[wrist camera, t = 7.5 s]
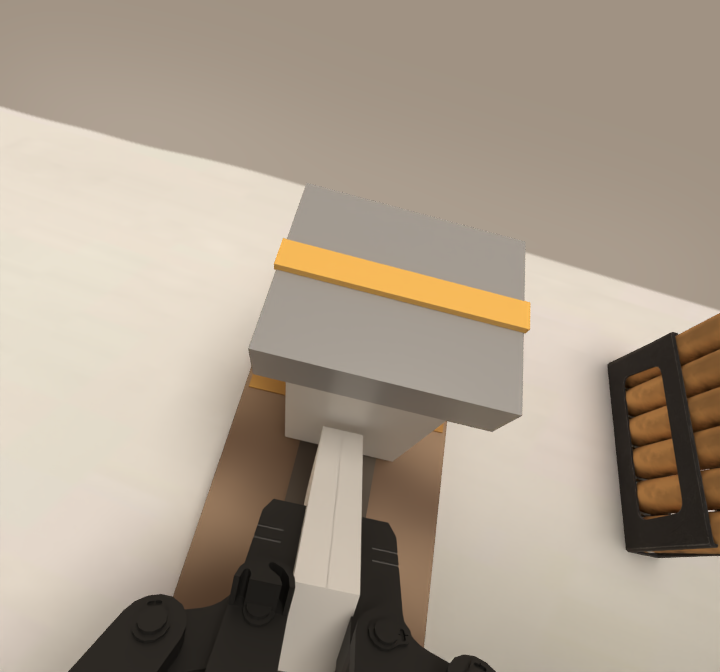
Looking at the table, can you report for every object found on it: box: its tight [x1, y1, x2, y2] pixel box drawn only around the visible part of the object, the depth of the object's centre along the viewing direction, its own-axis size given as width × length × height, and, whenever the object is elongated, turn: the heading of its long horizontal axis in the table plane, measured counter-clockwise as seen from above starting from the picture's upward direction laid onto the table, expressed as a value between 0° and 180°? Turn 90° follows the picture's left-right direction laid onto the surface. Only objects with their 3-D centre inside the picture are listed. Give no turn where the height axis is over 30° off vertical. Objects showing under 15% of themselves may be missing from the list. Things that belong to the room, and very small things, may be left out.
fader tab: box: [248, 183, 530, 462], centre depth 15 cm, size 5×6×11 cm
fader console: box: [173, 366, 447, 672], centre depth 20 cm, size 24×10×2 cm, turn 169°
